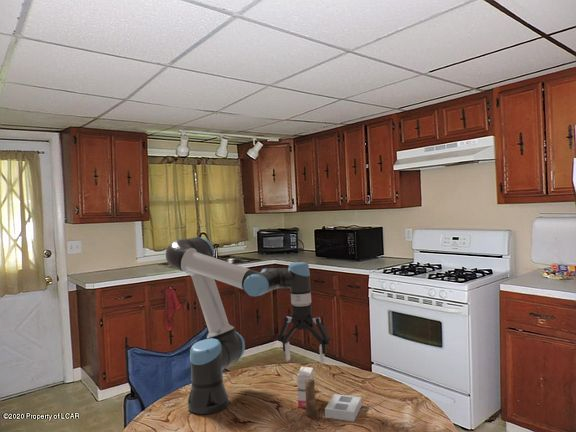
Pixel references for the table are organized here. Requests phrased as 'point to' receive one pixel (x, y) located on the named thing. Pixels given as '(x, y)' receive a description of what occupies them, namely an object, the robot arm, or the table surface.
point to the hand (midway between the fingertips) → (305, 361)
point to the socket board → (343, 407)
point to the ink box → (303, 384)
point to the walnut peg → (310, 398)
